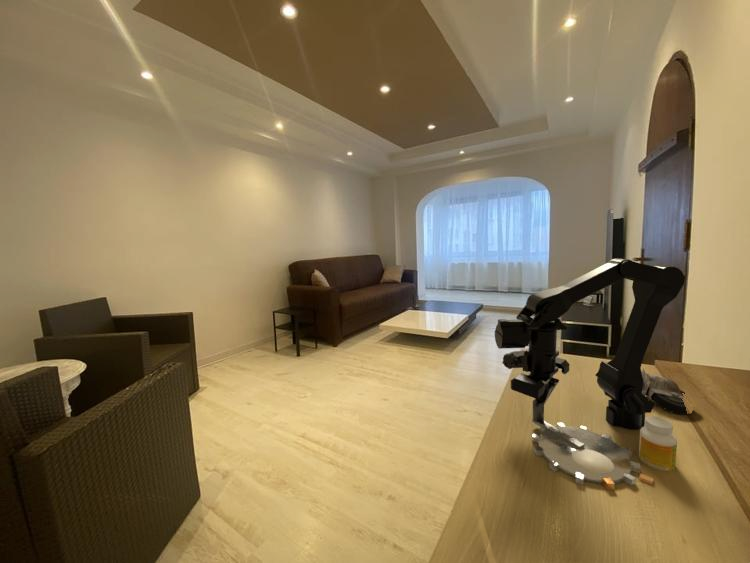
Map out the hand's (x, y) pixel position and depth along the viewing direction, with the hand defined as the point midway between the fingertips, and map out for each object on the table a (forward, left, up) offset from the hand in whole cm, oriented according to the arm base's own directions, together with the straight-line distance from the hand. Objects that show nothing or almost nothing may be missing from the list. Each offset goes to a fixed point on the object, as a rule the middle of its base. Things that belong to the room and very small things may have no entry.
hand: (540, 406), depth 76 cm
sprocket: (-3, +11, -4) cm, 12 cm away
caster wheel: (-37, -10, -6) cm, 38 cm away
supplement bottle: (-16, +14, -5) cm, 22 cm away
